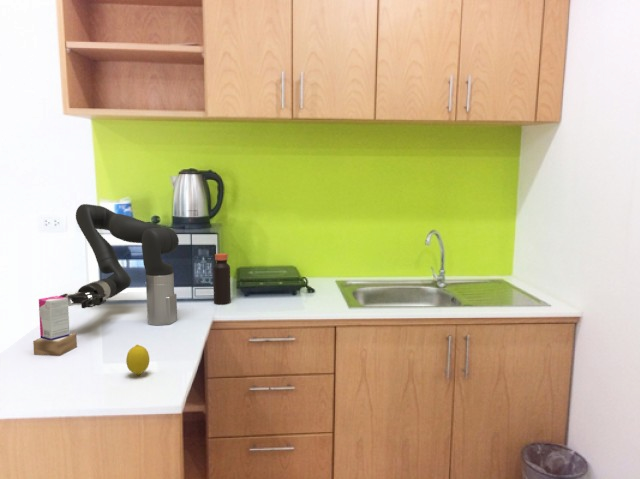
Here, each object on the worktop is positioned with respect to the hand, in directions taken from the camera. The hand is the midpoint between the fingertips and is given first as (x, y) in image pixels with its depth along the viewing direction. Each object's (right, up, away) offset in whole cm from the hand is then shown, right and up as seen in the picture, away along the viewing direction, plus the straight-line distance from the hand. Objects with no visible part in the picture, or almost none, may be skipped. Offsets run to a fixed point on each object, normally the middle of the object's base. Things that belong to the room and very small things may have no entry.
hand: (68, 305), depth 154 cm
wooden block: (-1, -13, -6) cm, 14 cm away
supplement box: (-1, -9, -6) cm, 11 cm away
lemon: (+30, -15, -24) cm, 41 cm away
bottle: (+37, -6, +52) cm, 64 cm away
